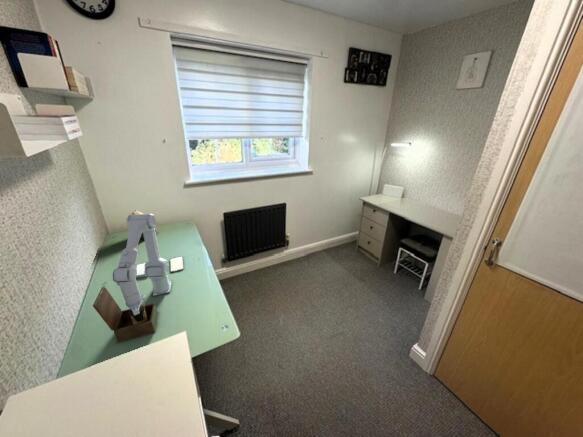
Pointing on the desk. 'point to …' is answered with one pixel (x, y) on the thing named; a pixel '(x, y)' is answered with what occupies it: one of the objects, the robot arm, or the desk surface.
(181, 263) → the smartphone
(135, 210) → the owl
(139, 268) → the hard drive
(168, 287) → the robot arm
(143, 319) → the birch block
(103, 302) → the box lid
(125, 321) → the keepsake box
